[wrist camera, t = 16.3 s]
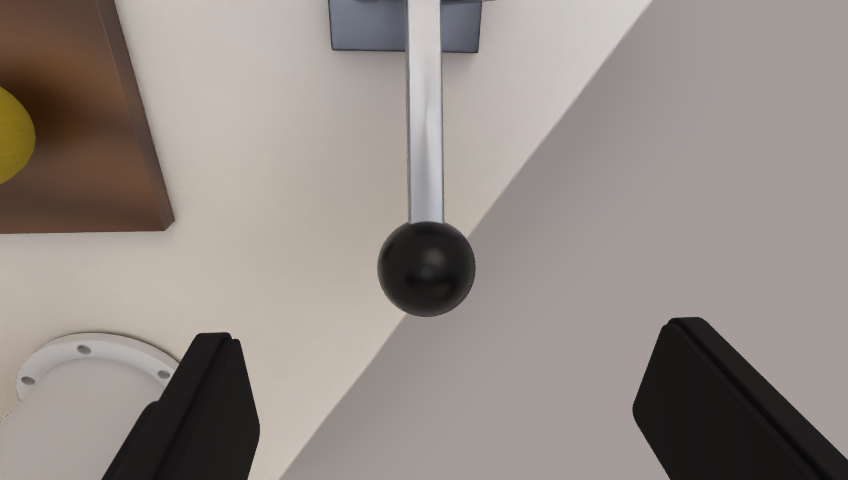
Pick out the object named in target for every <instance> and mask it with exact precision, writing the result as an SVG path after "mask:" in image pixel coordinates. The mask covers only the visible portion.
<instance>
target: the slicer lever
mask: <svg viewBox="0 0 848 480" xmlns="http://www.w3.org/2000/svg"><path fill="white" fill-rule="evenodd" d="M404 11H405V69H406V127H407V185H408V222H407V223H405V224H403V225H401V226H400V227H398V228H397V229H395V230H394V231H393V232H392V233H391V234H390V235H389V237H388V238H387V239H386V241H385V242H384V244H383V246H382V248H381V250H380V253H379V257H378V263H377V271H378V278H379V282H380V285H381V287H382V290H383V291H384V293H385V295H386V296H387V298H388V299H389V300H390V301H391V302H392V303H393V304H394V305H395V306H396V307H397V308H399V309H401V310H402V311H404V312H406V313H409V314H412V315H415V316H421V317H432V316H438V315H442V314H444V313H447V312H449V311H451V310H452V309H454V308H455V307H456V306H458V305H459V304H460V303H461V302H462V301H463V300H464V299H465V298H466V296H467V294H468V293H469V291H470V289H471V287H472V284H473V281H474V277H475V258H474V254H473V251H472V248H471V246H470V244H469V242H468V241H467V239H466V238H465V237H464V236H463V234H462V233H461V232H460V231H458V230H457V229H456V228H455V227H453V226H451V225H450V224H448V223H446V222H444V166H443V88H442V9H441V0H404Z"/></svg>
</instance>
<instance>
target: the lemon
mask: <svg viewBox="0 0 848 480" xmlns="http://www.w3.org/2000/svg"><path fill="white" fill-rule="evenodd" d="M35 140H36V135H35V130H34V125H33V123H32V120H31V118H30V116H29V114H28V112H27V111H26V110H25V108H24V107H23V105H22V104H21V103H20V102H19V101H18V100H17V99H16V98H15V97H14V96H13V95H12V94H10V93H9V92H8V91H6V90H5V89H3V88H2V87H0V184H2V183H4V182H5V181H7V180H9V179H10V178H11V177H13V176H14V175H15V174H16V173H17V172H19V171H20V170H21V169H22V168H23V167H24V166H25V165H26V164H27V162H28V161H29V159H30V157H31V155H32V153H33V151H34V147H35Z"/></svg>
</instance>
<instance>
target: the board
mask: <svg viewBox="0 0 848 480" xmlns="http://www.w3.org/2000/svg"><path fill="white" fill-rule="evenodd" d="M0 87H2V88H3V89H5V90H6V91H8V92H9V93H10V94H12V95H13V96H14V97H15V98H16V99H17V100H18V101H19V102H20V103H21V104H22V105H23V107H24V108H25V110H26V111H27V112H28V114H29V116H30V118H31V120H32V123H33V125H34V130H35V135H36V140H35V147H34V151H33V153H32V155H31V157H30V159H29V161H28V162H27V164H26V165H25V166H24V167H23V168H22V169H21V170H20V171H19V172H17V173H16V174H15V175H14V176H13V177H11V178H10V179H9V180H7V181H5V182H4V183H2V184H0V234H19V233H76V232H134V231H165V230H166V229H167V228H168V227H169V226H170V225H171V224H172V223H173V222H174V217H173V213H172V210H171V206H170V203H169V199H168V195H167V192H166V188H165V185H164V181H163V177H162V174H161V170H160V167H159V163H158V159H157V156H156V152H155V149H154V145H153V141H152V138H151V134H150V130H149V127H148V123H147V120H146V116H145V112H144V109H143V105H142V102H141V98H140V94H139V91H138V87H137V84H136V80H135V76H134V73H133V69H132V66H131V62H130V58H129V55H128V51H127V48H126V44H125V40H124V37H123V33H122V29H121V26H120V22H119V19H118V15H117V11H116V8H115V4H114V1H113V0H0Z"/></svg>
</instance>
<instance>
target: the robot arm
mask: <svg viewBox="0 0 848 480" xmlns="http://www.w3.org/2000/svg"><path fill="white" fill-rule="evenodd" d="M16 392H17V395H18V399H19V403H18V404H17V406H16V407H15V408H14V409H13V410H12V411H11V412H10V413H9V414H8V415H7V416H6V417H5V418H4V420H3V421H2V422H1V423H0V480H247V479H248V476H249V472H250V469H251V465H252V462H253V458H254V455H255V452H256V448H257V445H258V441H259V436H260V424H259V419H258V415H257V411H256V407H255V402H254V398H253V394H252V390H251V386H250V381H249V377H248V373H247V369H246V365H245V360H244V356H243V352H242V348H241V344H240V341H239V340H238V339H232V338H231V335H230V334H229V333H227V332H222V333H199V334H198V335H196V337H195V338H194V340H193V341H192V343H191V345H190V346H189V348H188V350H187V352H186V353H185V355H184V357H183V359H182V360H181V362H180V364H179V363H178V362H177V361H175V360H174V359H173V358H171V357H170V356H169V355H168V354H166V353H164V352H162V351H161V350H159V349H157V348H155V347H153V346H151V345H149V344H146V343H144V342H141V341H139V340H136V339H132V338H128V337H124V336H120V335H113V334H106V333H80V334H73V335H67V336H64V337H61V338H58V339H54V340H52V341H50V342H48V343H46V344H45V345H43V346H41V347H40V348H39V349H38V350H37V351H35V352H34V353H33V354H32V355H31V356H30V357H29V358H28V359H27V360H26V361H25V363H24V364H23V365H22V366H21V368H20V370H19V372H18V375H17V377H16ZM633 416H634V419H635V421H636V423H637V425H638V427H639V428H640V430H641V432H642V433H643V435H644V436H645V438H646V440H647V442H648V443H649V445H650V446H651V448H652V450H653V452H654V453H655V455H656V457H657V458H658V460H659V462H660V463H661V465H662V467H663V468H664V469H665V472H666V473H667V475H668V477H669V478H670V480H848V460H847V459H846V458H845V457H844V456H843V455H842V454H841V453H840V452H839V451H838V450H837V449H836V448H835V447H834V446H833V445H832V444H831V443H830V442H829V441H828V440H827V439H826V438H825V437H824V436H823V435H822V434H821V433H820V432H819V431H818V430H817V429H816V428H814V426H813V425H811V423H810V422H808V420H806V419H805V418H804V417H803V416H802V415H801V414H800V413H799V412H798V411H797V410H796V409H795V408H794V407H793V406H792V405H791V404H790V403H789V402H788V401H787V400H786V399H785V398H784V397H783V396H782V395H781V394H780V393H779V392H778V391H777V390H776V389H775V388H774V387H773V386H772V385H771V384H770V383H769V382H768V381H767V380H766V379H765V378H764V377H763V376H761V375H760V373H758V372H757V371H756V370H755V369H754V368H753V367H752V366H751V365H750V364H749V363H748V362H747V361H746V360H745V359H744V358H743V357H742V356H741V355H740V354H739V353H738V352H737V351H736V350H735V349H734V348H733V347H732V346H731V345H730V344H729V343H728V342H727V341H726V340H725V339H724V338H723V337H722V336H720V334H719V333H718V332H717V331H716V330H714V328H712V326H710V324H708V323H707V322H706V321H705V320H704V319H702V318H699V317H684V318H672V319H671V320H669V322H668V323H667V325H664V326H663V327H662V329H661V331H660V334H659V337H658V339H657V342H656V344H655V347H654V350H653V353H652V355H651V358H650V361H649V363H648V366H647V369H646V371H645V374H644V377H643V379H642V382H641V385H640V387H639V390H638V393H637V396H636V398H635V401H634V404H633Z"/></svg>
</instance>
